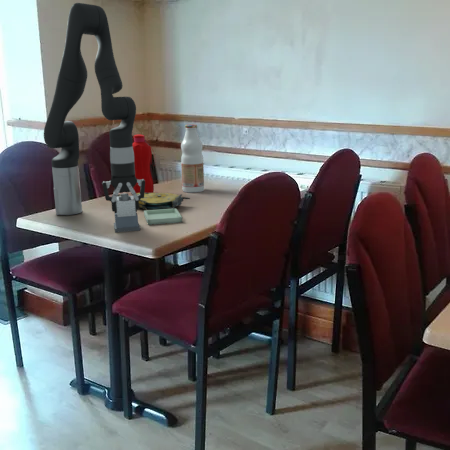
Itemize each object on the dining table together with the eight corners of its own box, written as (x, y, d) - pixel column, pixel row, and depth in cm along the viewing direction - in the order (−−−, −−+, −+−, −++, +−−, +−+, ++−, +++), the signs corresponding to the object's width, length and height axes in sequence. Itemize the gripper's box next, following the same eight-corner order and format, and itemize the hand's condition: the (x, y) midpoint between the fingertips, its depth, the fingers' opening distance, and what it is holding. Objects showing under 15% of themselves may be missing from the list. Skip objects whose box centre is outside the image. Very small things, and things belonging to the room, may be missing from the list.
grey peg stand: (115, 232, 184) (112, 197, 181) (113, 226, 191) (111, 192, 188) (140, 230, 185) (138, 195, 182) (138, 224, 193) (135, 190, 190)
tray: (148, 224, 192) (147, 219, 192) (144, 215, 205) (143, 210, 204) (182, 222, 195) (182, 217, 194) (176, 213, 207) (176, 208, 207)
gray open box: (117, 217, 183) (116, 201, 181) (116, 211, 190) (115, 196, 189) (135, 215, 184) (134, 200, 183) (133, 210, 191) (132, 195, 190)
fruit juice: (184, 193, 241) (181, 126, 233) (180, 189, 250) (178, 124, 242) (206, 192, 243) (204, 125, 235) (202, 187, 252) (200, 123, 244)
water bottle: (156, 196, 236) (152, 135, 230) (129, 196, 236) (125, 135, 230) (158, 191, 245) (156, 133, 238) (133, 192, 245) (129, 133, 239)
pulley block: (122, 184, 228) (190, 189, 216) (124, 198, 230) (191, 204, 218) (102, 195, 216) (173, 201, 204) (104, 210, 218) (174, 216, 206)
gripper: (99, 163, 177) (103, 216, 182) (146, 161, 181) (149, 213, 185) (99, 160, 185) (103, 211, 189) (143, 158, 188) (146, 207, 192)
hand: (125, 211), depth 187 cm, fingers open, 6 cm apart
